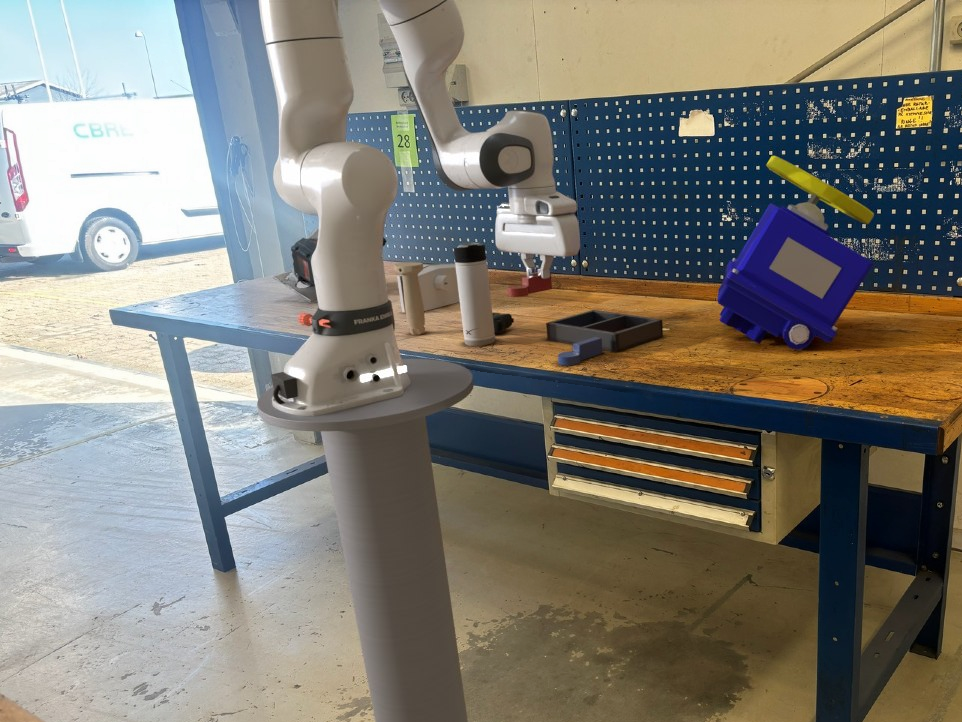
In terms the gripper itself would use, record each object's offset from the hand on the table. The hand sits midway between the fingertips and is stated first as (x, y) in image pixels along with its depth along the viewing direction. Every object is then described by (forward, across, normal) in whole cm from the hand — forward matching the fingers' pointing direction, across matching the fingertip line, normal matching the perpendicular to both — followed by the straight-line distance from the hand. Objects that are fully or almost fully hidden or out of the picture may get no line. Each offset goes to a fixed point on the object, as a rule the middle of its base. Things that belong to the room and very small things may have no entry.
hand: (538, 277), depth 164 cm
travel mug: (+14, -14, -5) cm, 20 cm away
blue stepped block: (+14, +13, -3) cm, 19 cm away
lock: (+14, -54, +14) cm, 57 cm away
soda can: (+14, -63, +33) cm, 72 cm away
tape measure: (+14, -18, +3) cm, 23 cm away
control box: (+13, +36, +33) cm, 51 cm away
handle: (+14, -33, -7) cm, 36 cm away
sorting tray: (+14, +6, +11) cm, 19 cm away
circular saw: (+14, -94, +10) cm, 95 cm away
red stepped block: (+2, 0, -2) cm, 4 cm away
